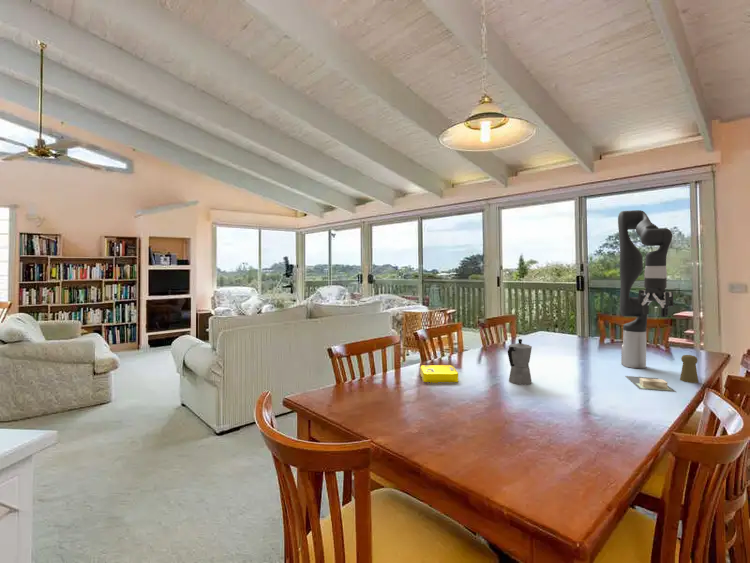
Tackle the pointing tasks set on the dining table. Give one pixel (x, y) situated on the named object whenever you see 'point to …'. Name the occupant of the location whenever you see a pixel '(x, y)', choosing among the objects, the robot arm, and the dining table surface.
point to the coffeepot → (519, 363)
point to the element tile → (438, 373)
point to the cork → (689, 369)
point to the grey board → (637, 383)
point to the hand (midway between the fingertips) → (654, 315)
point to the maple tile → (653, 383)
